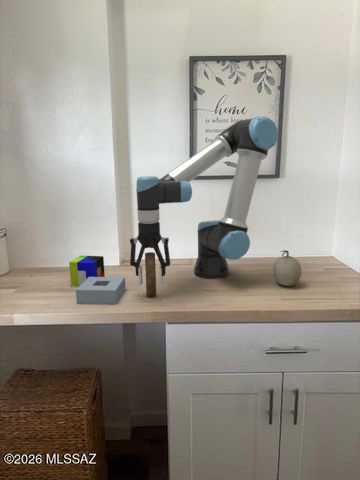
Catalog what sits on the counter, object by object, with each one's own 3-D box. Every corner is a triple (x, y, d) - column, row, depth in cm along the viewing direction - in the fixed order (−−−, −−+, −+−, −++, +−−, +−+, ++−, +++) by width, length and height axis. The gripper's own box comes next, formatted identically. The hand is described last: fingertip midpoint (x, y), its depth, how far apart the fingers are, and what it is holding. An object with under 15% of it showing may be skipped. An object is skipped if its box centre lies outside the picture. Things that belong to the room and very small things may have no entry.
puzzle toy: (94, 287, 138) (92, 263, 135) (71, 286, 140) (69, 262, 137) (104, 279, 147) (103, 256, 145) (82, 278, 149) (81, 255, 147)
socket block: (125, 289, 135) (125, 277, 133) (116, 304, 121) (115, 290, 120) (90, 289, 136) (89, 276, 135) (76, 303, 122) (75, 289, 121)
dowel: (157, 294, 129) (155, 252, 126) (155, 297, 126) (154, 254, 122) (147, 294, 130) (145, 252, 126) (145, 297, 126) (144, 254, 123)
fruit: (294, 279, 143) (296, 243, 140) (304, 289, 132) (307, 250, 129) (268, 280, 143) (270, 244, 139) (277, 290, 132) (279, 251, 128)
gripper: (178, 219, 125) (179, 281, 130) (123, 219, 126) (126, 280, 131) (176, 223, 117) (177, 288, 122) (118, 223, 119) (121, 287, 124)
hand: (151, 284), depth 127 cm, fingers open, 7 cm apart
